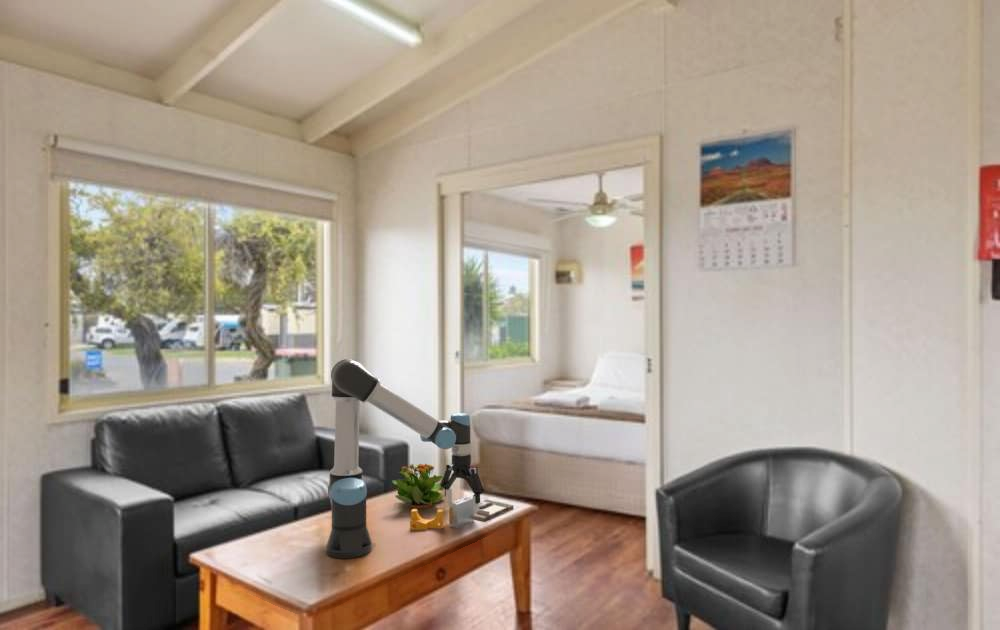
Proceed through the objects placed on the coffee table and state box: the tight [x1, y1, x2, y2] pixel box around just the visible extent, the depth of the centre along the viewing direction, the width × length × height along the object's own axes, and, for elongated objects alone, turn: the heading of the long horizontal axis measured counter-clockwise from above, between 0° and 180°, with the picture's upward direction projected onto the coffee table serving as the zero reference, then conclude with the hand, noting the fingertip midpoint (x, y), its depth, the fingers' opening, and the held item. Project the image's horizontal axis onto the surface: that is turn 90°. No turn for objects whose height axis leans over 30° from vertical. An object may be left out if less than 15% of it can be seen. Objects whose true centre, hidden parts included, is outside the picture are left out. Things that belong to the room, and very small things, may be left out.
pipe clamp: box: [409, 508, 444, 531], centre depth 232 cm, size 12×4×6 cm, turn 86°
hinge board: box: [474, 499, 514, 522], centre depth 251 cm, size 20×14×2 cm
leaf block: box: [448, 496, 475, 529], centre depth 236 cm, size 10×4×9 cm, turn 144°
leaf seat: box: [477, 500, 509, 516], centre depth 249 cm, size 13×6×2 cm, turn 144°
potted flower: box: [391, 463, 445, 510], centre depth 259 cm, size 25×24×18 cm
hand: (462, 508), depth 237 cm, fingers open, 13 cm apart
